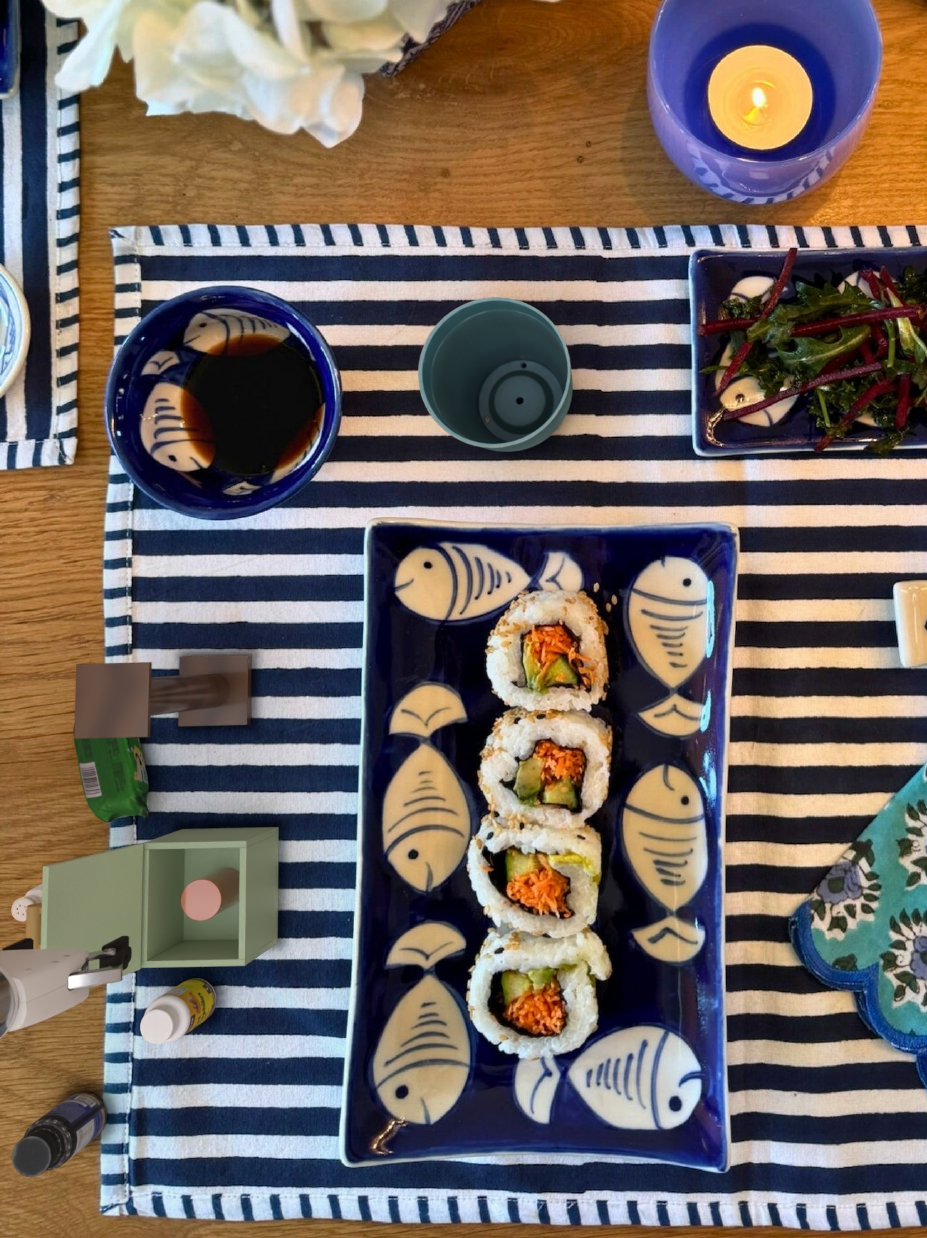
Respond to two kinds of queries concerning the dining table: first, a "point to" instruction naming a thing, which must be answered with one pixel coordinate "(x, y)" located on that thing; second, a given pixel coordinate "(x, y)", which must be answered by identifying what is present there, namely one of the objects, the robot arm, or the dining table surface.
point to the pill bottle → (59, 1134)
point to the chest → (231, 931)
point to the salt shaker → (26, 903)
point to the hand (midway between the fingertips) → (77, 952)
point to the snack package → (113, 776)
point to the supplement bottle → (178, 1011)
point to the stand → (161, 695)
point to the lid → (90, 904)
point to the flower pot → (496, 374)
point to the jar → (211, 894)
